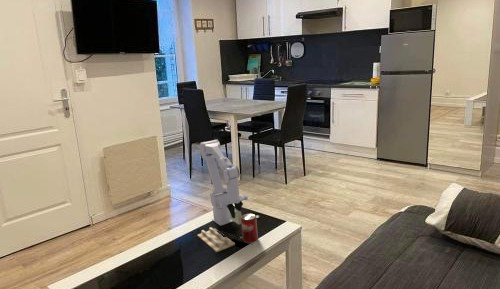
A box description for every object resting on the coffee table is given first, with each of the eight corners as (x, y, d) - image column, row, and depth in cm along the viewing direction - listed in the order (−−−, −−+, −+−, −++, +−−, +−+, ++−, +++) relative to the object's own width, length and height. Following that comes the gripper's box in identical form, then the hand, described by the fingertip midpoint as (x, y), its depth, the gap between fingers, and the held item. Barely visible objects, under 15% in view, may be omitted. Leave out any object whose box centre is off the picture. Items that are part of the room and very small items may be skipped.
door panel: (229, 218, 185) (228, 207, 184) (233, 217, 186) (232, 206, 185) (238, 224, 178) (237, 213, 176) (242, 223, 179) (241, 212, 177)
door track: (197, 236, 183) (197, 231, 182) (215, 229, 188) (214, 225, 188) (216, 252, 166) (215, 247, 166) (235, 244, 172) (234, 240, 171)
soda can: (252, 245, 170) (249, 221, 167) (239, 241, 174) (237, 218, 172) (261, 238, 176) (259, 215, 173) (249, 234, 180) (247, 212, 177)
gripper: (224, 197, 171) (226, 223, 174) (250, 189, 179) (252, 215, 182) (216, 193, 177) (219, 219, 180) (242, 185, 184) (244, 210, 188)
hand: (235, 216), depth 181 cm, fingers closed on door panel, 2 cm apart
